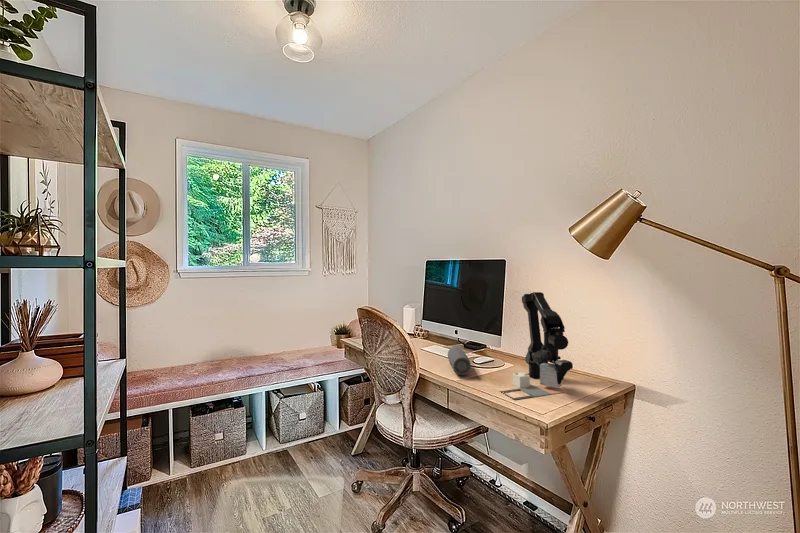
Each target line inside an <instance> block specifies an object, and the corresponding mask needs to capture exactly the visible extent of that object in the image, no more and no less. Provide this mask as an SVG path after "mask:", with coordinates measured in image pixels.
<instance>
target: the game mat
mask: <svg viewBox="0 0 800 533" xmlns="http://www.w3.org/2000/svg"><path fill="white" fill-rule="evenodd" d="M511 391H514V392H521V391H522V392H523V393H525V394H527V395H523V396H517V397H512V396H510V395H509V394H507V393H512V392H511ZM500 392H501V393H500ZM503 392H507V393H503ZM568 392H569V391H568V390H566V389H564V388H562V387H559V388H556V387H551V386H546V385H541V384H540V385H535V386H530V387H525V388H519V387H518V388H513V389H506V390H499V393H500V394H502V393H503V394H502V395H504V394H505V395H504V396H506V397H508V398H509V397H510V398H509V399H511V398H512V399H511V400H514V401H518V400H525V399H531V398H537V397H545V396H550V395H556V394H563V393H564V394H565V393H568Z"/></svg>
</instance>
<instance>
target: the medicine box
mask: <svg viewBox="0 0 800 533" xmlns="http://www.w3.org/2000/svg"><path fill="white" fill-rule="evenodd" d="M554 368H556V367H555V364H553V363H550V362H548V363H542V364H541V365H540V378H539V384H540V385H546V386H551V387H556V388H562V386H563V381H562V382H561V384H558V383H557V372H556V370H555V369H554Z"/></svg>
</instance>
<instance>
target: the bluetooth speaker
mask: <svg viewBox="0 0 800 533" xmlns="http://www.w3.org/2000/svg"><path fill="white" fill-rule="evenodd" d="M447 359H448V362H449V365H450V366H451V368H452V370H453V371H454V372H455V373H456V374H458V375H461V376H462V375H467V374H468V373H469V372H470V370H471V368H472V367H471V366H472V364H471V361H470V358H469V356H467V354H466V352H465V351H464V350H463V349H462V348H460V347H458V346H452V347H451V348H449V349H448V352H447Z"/></svg>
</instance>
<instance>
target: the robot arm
mask: <svg viewBox="0 0 800 533" xmlns="http://www.w3.org/2000/svg"><path fill="white" fill-rule="evenodd" d="M544 294H545V293H544V292H541V291H536V292H535V291H534V292H530V293H524V294H523V295H522V296H521V303H522V304H523V309H524V310H525V311H526V312H527V317H528V318H527V319H528V329H529V338H530V343H529V346H528V347H527V352H526V354H525V357H524V358H525V363H526V364H527V365H528V373H526V374H527V375H530V377H531V378H532V379H540V365H541V364H542V363H550V364H555V367H556V368H554V369H555V370H556V372H557V383H558V384H561V382H562V383H563V379H564V378H565V376H566V374H567V373H568V372H569V371H570V370H573V369H574V368H573V365H574V364H573V362H572V361H570V360H567V359H561V356H559V350H561V351H562V350H565V349H567V348H568V346H569V340H568V338H567V337H566V336H565V335H564V333H565V332H566V331H565V325H564V322H563V319H562V318H561V316H560V315H559V314H558V312H557V311H556V310H555V311H554V310H553V309H551V307H550V305H549V303H548V301H547V300H546V298H545V295H544ZM539 314H540V317H539ZM539 319H540V320H539ZM540 325H541V327H542V331H543V342H542V337H541V336H542V334H541V328H540Z"/></svg>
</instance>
